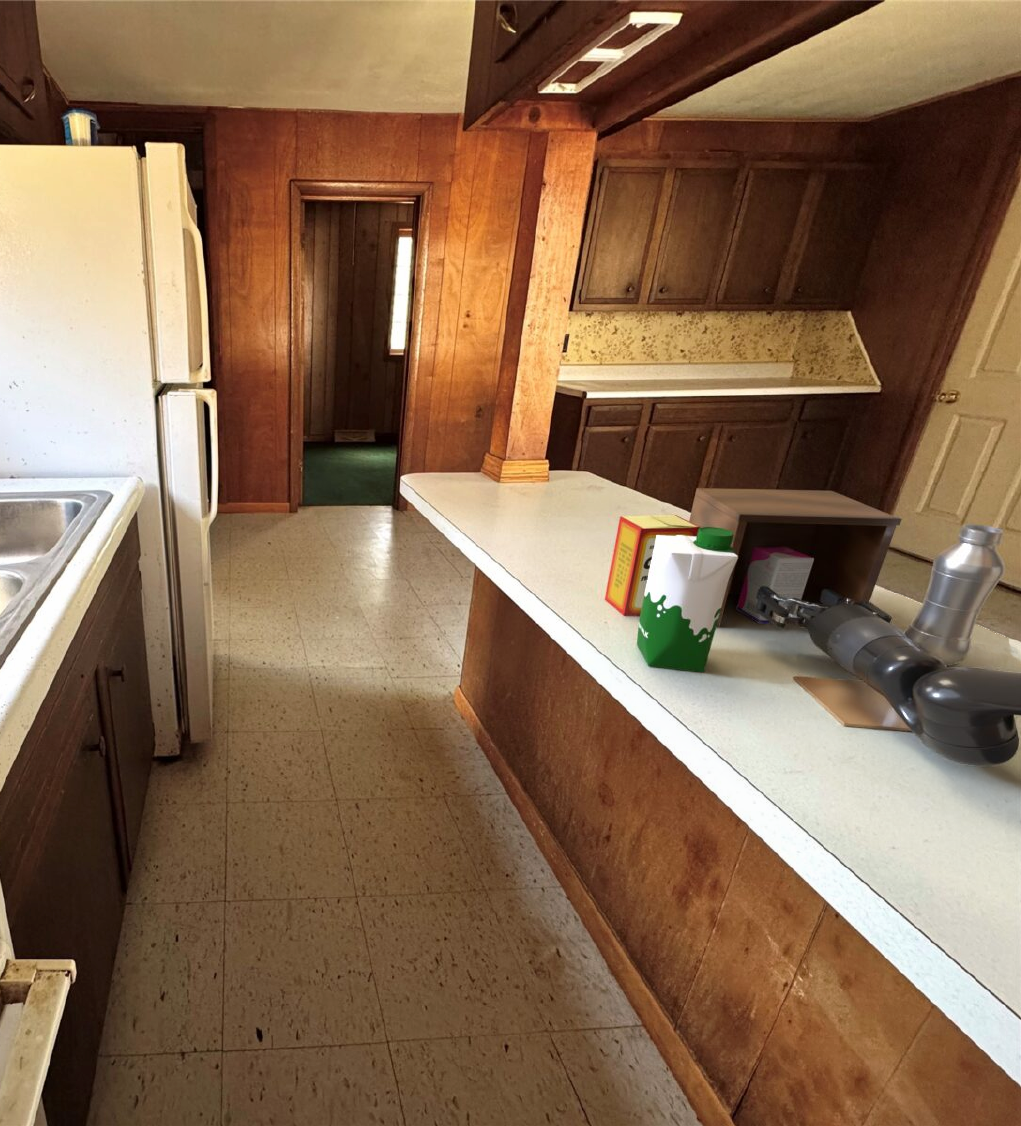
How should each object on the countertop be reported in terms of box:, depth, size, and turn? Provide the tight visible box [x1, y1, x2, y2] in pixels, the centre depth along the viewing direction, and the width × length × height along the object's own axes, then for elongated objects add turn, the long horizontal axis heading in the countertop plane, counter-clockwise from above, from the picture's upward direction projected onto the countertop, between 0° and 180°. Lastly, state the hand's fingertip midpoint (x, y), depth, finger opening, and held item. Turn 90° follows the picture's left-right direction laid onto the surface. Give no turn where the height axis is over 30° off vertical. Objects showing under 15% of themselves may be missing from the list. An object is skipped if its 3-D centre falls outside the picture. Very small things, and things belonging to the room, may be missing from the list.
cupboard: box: [688, 487, 903, 628], centre depth 102 cm, size 16×21×19 cm
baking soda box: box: [604, 514, 701, 617], centre depth 105 cm, size 10×6×16 cm
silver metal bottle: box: [903, 523, 1006, 666], centre depth 86 cm, size 6×7×20 cm
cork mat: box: [792, 675, 913, 733], centre depth 80 cm, size 11×11×1 cm
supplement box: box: [735, 547, 814, 625], centre depth 101 cm, size 6×6×12 cm
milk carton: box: [636, 527, 738, 673], centre depth 88 cm, size 9×9×20 cm
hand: (792, 593), depth 96 cm, fingers open, 8 cm apart
